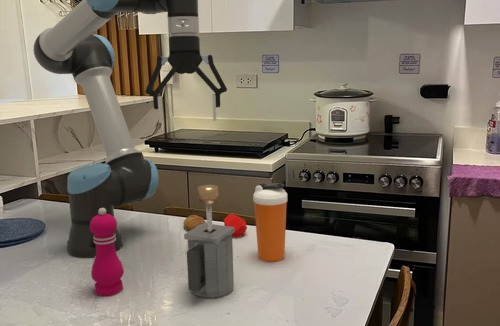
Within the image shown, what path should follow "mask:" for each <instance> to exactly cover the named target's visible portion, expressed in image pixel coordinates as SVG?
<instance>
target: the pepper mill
mask: <svg viewBox="0 0 500 326" xmlns="http://www.w3.org/2000/svg"><path fill="white" fill-rule="evenodd" d="M98 213H99V215H96V216H95V217H94V218H92V220H91V222H90V230H91V232H92V233H93V234H94V236H93V239H94V241H93V242H94V243H95V244H96V257H94V261H93V263H92V266H91V267H92V268H91V278H92V279H91V280H93V281H94V282H95V284H94V292H95V294H96V295H98V296H105V297H107V296H115V295H116V294H118V293H119V294H120V292H122V290H123V288H124V286H123V284H124V283H123V280H122V277H123V275H124V267H123V263H122V260H120V258H119V256H118V254H117V251H115V246H114V241H115V240H116V237H115V236H116V234H115V233H114V232H115V231H116V229H117V227H118V221H117V218H116V217H115V216H114V217H113V216H112V215H110V214H106V209H105V208H100V209H99V211H98Z"/></svg>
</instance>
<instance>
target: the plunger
mask: <svg viewBox="0 0 500 326" xmlns="http://www.w3.org/2000/svg"><path fill="white" fill-rule="evenodd" d="M218 187H219V186H218V185H215V184H203V185H199V186H198V187H197V193H198V196H197V197H198V203H200V204H203V205H204V204H205V208H206V209H205V210H206V212H205V214H206V223H207V232H208V233H212V224H213V217H212V216H213V211H212V209H213V208H212V204H216V203H218V202H219V188H218Z"/></svg>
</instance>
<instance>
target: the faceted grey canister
mask: <svg viewBox="0 0 500 326" xmlns="http://www.w3.org/2000/svg"><path fill="white" fill-rule="evenodd" d="M234 232H235V227H229V226H224V225H221V224H220V225H219V224H213V223H212V233H208V232H207V222H206V223H202V224H201V225H199V226H197V227H196V228H194V229H192V230H190V231H187V232H185V233H184V234H183V239H184V240H187V251H186V260H187V261H186V263H187V265H186V266H187V284H188V291H190V293H191V294H192V295H193V296H195V297H197V298H201V299H210V300H211V299H220V298H224V297H226V296H229V295H230V294H231V293H232V292H233V291H234V289H235V288H234V286H235V281H234V256H233V255H234V253H233V248H234V247H233V237H232V234H233V233H234Z"/></svg>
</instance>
